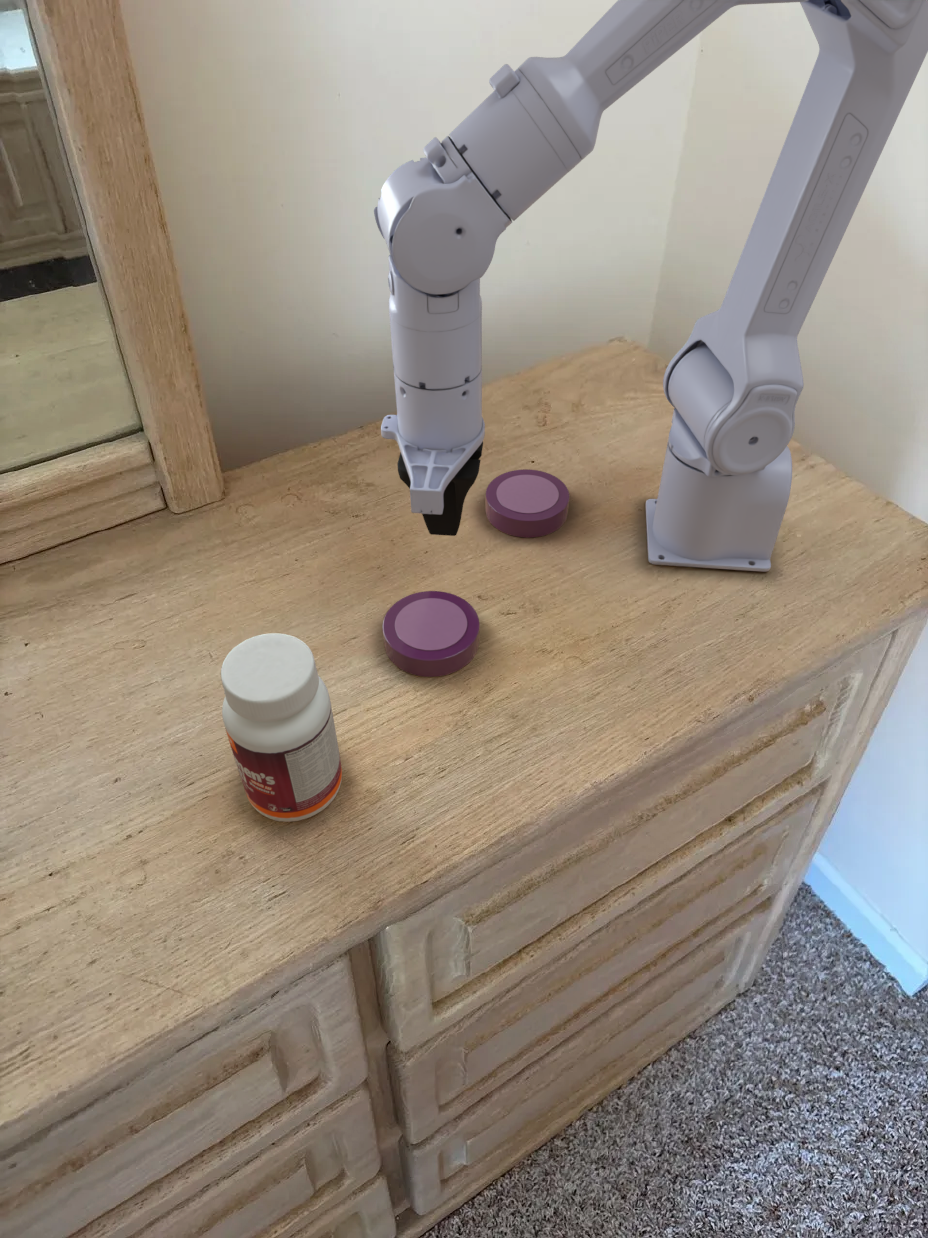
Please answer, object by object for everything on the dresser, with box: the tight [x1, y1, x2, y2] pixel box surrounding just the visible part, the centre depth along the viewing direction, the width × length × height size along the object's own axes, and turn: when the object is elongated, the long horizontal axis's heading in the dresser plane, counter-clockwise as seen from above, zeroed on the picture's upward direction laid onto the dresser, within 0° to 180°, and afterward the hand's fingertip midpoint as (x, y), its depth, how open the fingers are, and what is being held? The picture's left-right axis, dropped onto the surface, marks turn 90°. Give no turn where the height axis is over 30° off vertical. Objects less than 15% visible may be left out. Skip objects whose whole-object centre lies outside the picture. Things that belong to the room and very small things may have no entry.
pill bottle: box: [220, 632, 343, 823], centre depth 53 cm, size 6×6×11 cm
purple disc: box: [381, 590, 481, 678], centre depth 65 cm, size 7×7×2 cm
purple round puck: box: [484, 468, 571, 538], centre depth 76 cm, size 7×7×2 cm
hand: (443, 529), depth 68 cm, fingers closed
